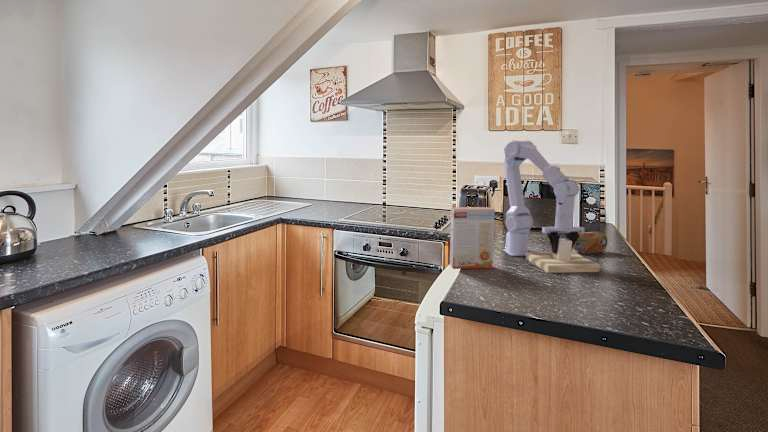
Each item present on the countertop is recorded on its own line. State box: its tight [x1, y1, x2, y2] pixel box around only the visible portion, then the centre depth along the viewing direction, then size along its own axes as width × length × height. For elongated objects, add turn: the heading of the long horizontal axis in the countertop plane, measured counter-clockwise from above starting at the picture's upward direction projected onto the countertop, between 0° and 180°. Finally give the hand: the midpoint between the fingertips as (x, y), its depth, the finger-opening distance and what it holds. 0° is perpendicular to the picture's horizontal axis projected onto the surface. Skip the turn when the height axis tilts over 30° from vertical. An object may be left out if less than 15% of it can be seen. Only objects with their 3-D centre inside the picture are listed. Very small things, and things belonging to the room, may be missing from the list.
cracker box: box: [449, 206, 496, 270], centre depth 145 cm, size 14×6×21 cm, turn 92°
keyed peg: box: [553, 237, 573, 260], centre depth 150 cm, size 4×6×8 cm
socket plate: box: [525, 251, 601, 274], centre depth 150 cm, size 18×18×2 cm
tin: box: [572, 231, 608, 255], centre depth 169 cm, size 15×3×8 cm, turn 105°
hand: (561, 253), depth 149 cm, fingers closed on keyed peg, 4 cm apart
